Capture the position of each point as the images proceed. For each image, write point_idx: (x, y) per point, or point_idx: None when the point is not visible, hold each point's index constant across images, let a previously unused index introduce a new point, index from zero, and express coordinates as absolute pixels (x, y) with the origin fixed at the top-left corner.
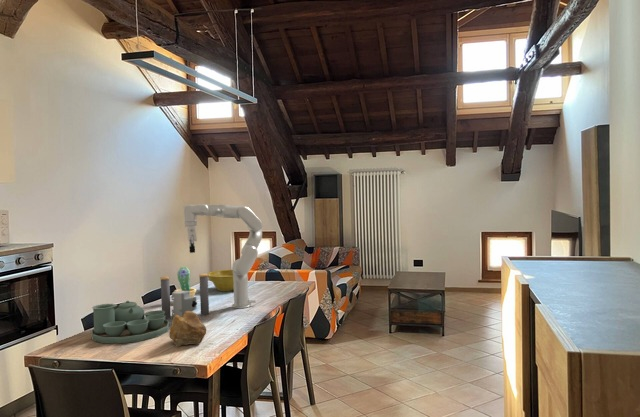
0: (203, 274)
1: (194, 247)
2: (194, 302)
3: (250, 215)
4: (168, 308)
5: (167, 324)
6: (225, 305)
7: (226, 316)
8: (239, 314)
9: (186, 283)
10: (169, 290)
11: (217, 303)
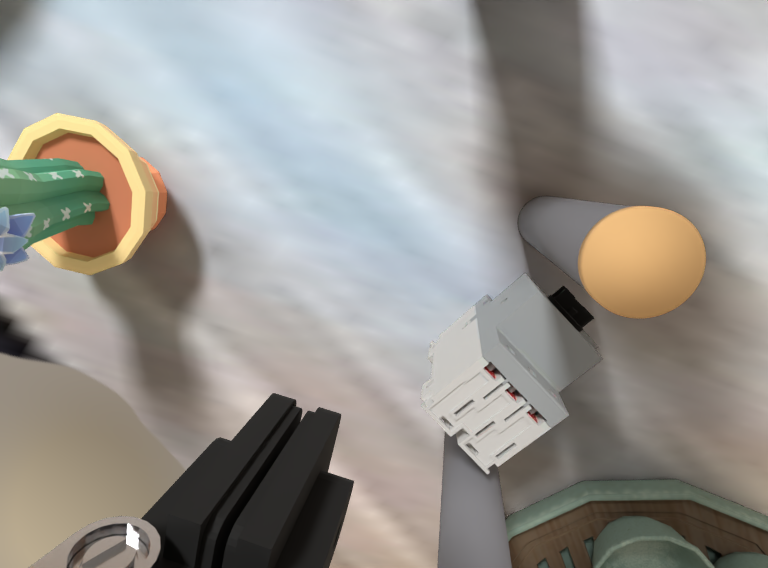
0: (638, 264)
1: (289, 518)
2: (563, 308)
3: None
4: None
5: (758, 526)
6: (399, 10)
7: (713, 129)
8: (736, 27)
9: (49, 196)
10: (492, 508)
11: (304, 38)
